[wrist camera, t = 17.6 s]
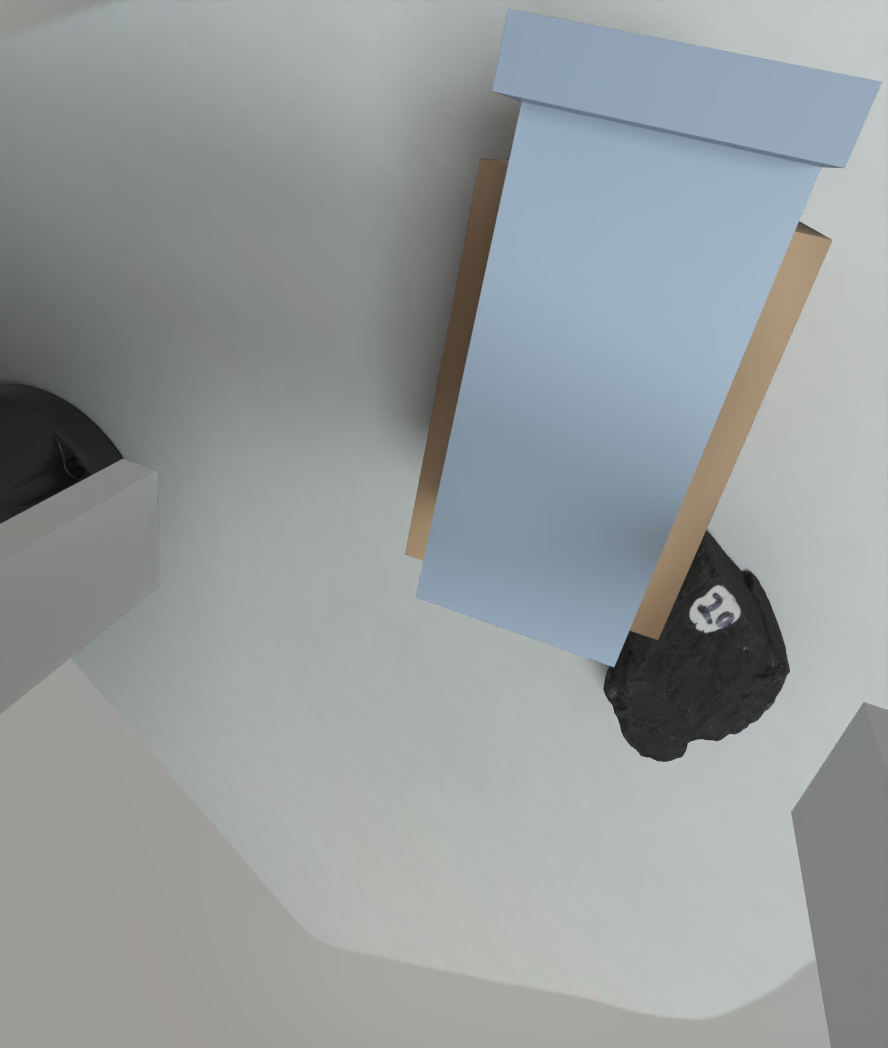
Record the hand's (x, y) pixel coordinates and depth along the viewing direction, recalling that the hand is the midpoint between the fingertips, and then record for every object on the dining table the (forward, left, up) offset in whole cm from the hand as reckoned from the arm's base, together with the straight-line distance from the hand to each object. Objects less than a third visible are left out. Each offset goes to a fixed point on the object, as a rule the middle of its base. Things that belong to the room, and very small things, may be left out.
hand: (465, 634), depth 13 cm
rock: (+9, -12, -24) cm, 28 cm away
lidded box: (+1, +3, -12) cm, 13 cm away
